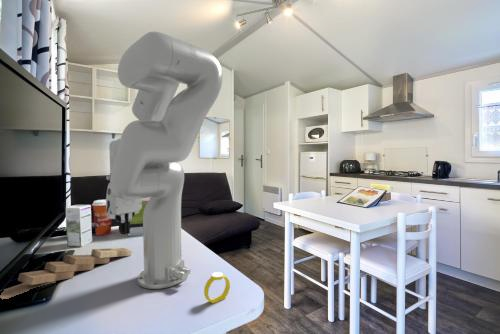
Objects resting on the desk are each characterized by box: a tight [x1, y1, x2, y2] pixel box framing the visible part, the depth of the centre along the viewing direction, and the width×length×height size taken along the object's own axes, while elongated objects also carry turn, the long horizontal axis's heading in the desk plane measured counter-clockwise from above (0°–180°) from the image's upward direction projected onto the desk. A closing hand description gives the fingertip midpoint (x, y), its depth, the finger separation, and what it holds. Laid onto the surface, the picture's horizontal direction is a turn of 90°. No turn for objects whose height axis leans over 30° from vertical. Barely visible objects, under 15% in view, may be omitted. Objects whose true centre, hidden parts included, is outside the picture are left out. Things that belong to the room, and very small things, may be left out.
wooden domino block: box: [0, 281, 57, 300], centre depth 61 cm, size 5×2×10 cm
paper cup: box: [91, 199, 113, 236], centre depth 106 cm, size 8×8×14 cm
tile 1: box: [64, 254, 111, 265], centre depth 73 cm, size 5×2×10 cm
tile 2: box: [44, 261, 95, 273], centre depth 69 cm, size 5×2×10 cm
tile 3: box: [17, 269, 75, 285], centre depth 64 cm, size 5×2×10 cm
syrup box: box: [65, 204, 93, 248], centre depth 93 cm, size 6×6×14 cm
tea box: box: [127, 197, 151, 237], centre depth 110 cm, size 15×10×15 cm
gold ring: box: [203, 271, 231, 304], centre depth 56 cm, size 6×3×6 cm, turn 128°
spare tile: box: [90, 247, 132, 258], centre depth 79 cm, size 5×2×10 cm
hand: (124, 233), depth 83 cm, fingers closed
